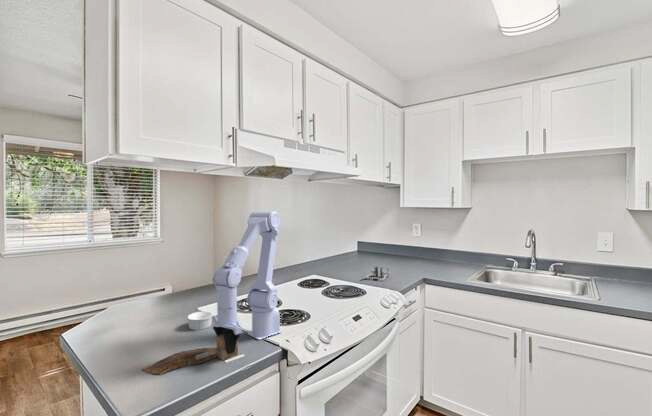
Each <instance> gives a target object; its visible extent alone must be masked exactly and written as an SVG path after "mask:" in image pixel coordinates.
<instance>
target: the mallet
mask: <svg viewBox="0 0 652 416" xmlns="http://www.w3.org/2000/svg"><path fill="white" fill-rule="evenodd" d="M216 347H217V349H214V350H211V351H208V352H205V353H202V354H199V355H196V356H195V358H196V360H198V359H201V358H204V357H207V356H210V355H213V354H216V353H217V355H218V357H217V358H219V359H220V360H222V361H226V359H227V360H228V359H231V358H234V357H237V356H239V339H238V340H237V344H236V348H235V352H234V353H231V354H227V351H226V343H225V339H224V337H223V335H219V336H217V335H216Z"/></svg>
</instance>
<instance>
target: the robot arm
mask: <svg viewBox="0 0 652 416" xmlns="http://www.w3.org/2000/svg"><path fill="white" fill-rule="evenodd" d="M280 227H281V217H280V216H279V214H278V212H277V211H275V210H273V211H257V210H254V211H252V212H251V213H250V214H249V216H248V218H247V227H246V230H245V231H244V233H243V236H242V238H241V240H240V242H239V244H238V246H235V247H233V248H231V250H230V253H229V255H228V256H227V258H226V260H225V261H224V263H223V264H222V267H220V268H218V269H216V271H215V272H214V274H213V277H212V282H213V284H214V286H215V291H216V292H217V293H216V294H217V296H216V297H217V298H216V299H217V301H216V305H217V308H216V309H217V311H216V313H217V314H216V315H215V314H214V315H213V322H214V323H213V327H212V329H213V331H214V333H215V335H216V337H217V336H219V335H223V337H224V339H225V343H226V351H227V354H231V353H234V352H235V348H236V344H237V340H238V341H239V338H240V336H241V334H242V333H243V329H242V328H243V326H241V324H240V323H239V320H238V314H237V313H238V306H237V305H238V303H237V301H238V299H237V294H238V290H237V289H238V288H237V287H238V285H239V284H240V282H241V280H242V274H243V268H244V266H245V264H246V262H247V260H248V259H249V257H250V254H249V250H250V248H251V246H252V245H253V243H254V242H255V240H256V239H257V238H258V236H259V235H260V237H261V238H262V242H261V246H260V247H261V248H260V255H259V262H258V268H257V269H258V270H257V278H256V281H255V282H254V283H253V284H251V285H250V289H249V292H248V294H247V298H246V303H247V306H249V307H250V310H251V313H252V314H251V322H252V323H251V325H252V326H251V330H250V331H247V333H246V334H247V335H249V336H251V337H253V338H254V339H255V340H257V341H261V340H264V339H266V337H267V338H269V337H268V336H270V337H272V336H271V335H273V336H275V335H274V334H276V335H278V334H277V333H279V334H281V333H282V331H281V322H280V321H281V320H280V319H281V315H280V311H279V309H278V307H277V305H278V300H279V299H278V288H277V286H276V285H275V284H274V283H273V282H272V281H273V274H274V273H273V272H274V267H275V260H276V259H275V258H276V251H277V241H278V235H279V234H280ZM280 332H281V333H280Z"/></svg>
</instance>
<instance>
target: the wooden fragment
mask: <svg viewBox="0 0 652 416" xmlns="http://www.w3.org/2000/svg"><path fill="white" fill-rule="evenodd" d="M214 349H217V346H213V347H203V348H195V349H189V350H183V351H179V352H176V353H173V354H171V355H169V356H167V357H165V358H163V359H160V360H159V361H156V362H155V363H154V362H153V363H152V364H150V365H147V366H145V367H142V368H141V371H142V370H143V371H142V372H144V371H145V373H146V374H148V373H152V374H151V375H160V376H161V375H164V374H165V373H168V372H171V371H173V370H175V369H179V368H180V369H181V368H183V367H186V366H189V365H192V366H193V365H198V364H202V363H204V362H206V361H208V360H212V359H217V358H219V357H218V355H217V353H216V354H213V355H210V356H207V357H204V358H201V359H198V360H196V358H195V356H196V355H199V354H202V353H205V352H208V351H211V350H214Z"/></svg>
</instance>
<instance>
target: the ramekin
mask: <svg viewBox="0 0 652 416" xmlns="http://www.w3.org/2000/svg"><path fill="white" fill-rule="evenodd" d="M213 316H214V315H213V313H212V312H211V311H206V310H205V311H196V312H192V313H191V314H188V315H187V319H188V320H187V321H188V328H189V329H190V330H191V331H201V330H205V329H209V328H210V327H211V326H212V322H213V321H212V320H213Z"/></svg>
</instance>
